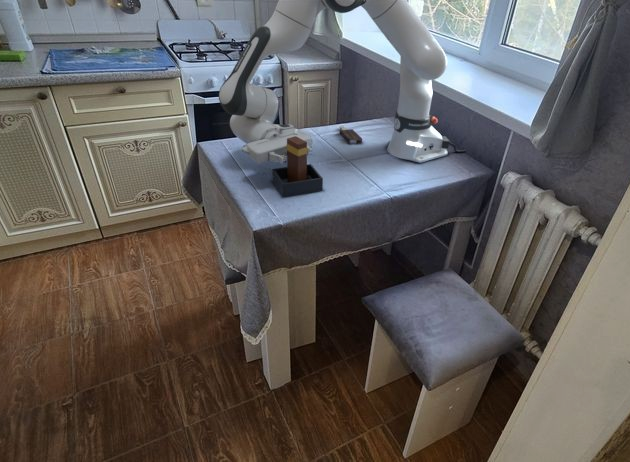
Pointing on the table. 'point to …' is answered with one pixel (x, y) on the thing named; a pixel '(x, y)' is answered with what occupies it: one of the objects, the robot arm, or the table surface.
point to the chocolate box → (296, 159)
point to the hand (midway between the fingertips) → (297, 156)
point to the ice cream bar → (350, 136)
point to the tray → (297, 182)
